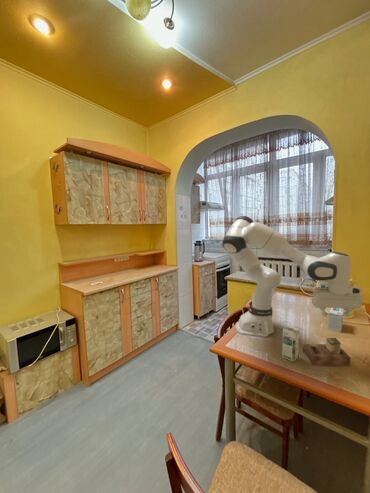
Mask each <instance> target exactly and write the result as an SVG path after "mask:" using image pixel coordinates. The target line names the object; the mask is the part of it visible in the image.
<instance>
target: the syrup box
mask: <svg viewBox="0 0 370 493" xmlns="http://www.w3.org/2000/svg"><path fill="white" fill-rule="evenodd" d="M299 340H300V328H296V327H294V326H293V327H292V326H289V325H286V326H285V327H283V329H282V348H281V349H282V351H281V358H283V359H287V360H289V361H291V362H292V363H295V362H296V360H297V359H298V357H299V346H300V345H299V342H300V341H299Z"/></svg>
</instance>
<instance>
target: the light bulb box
mask: <svg viewBox="0 0 370 493" xmlns="http://www.w3.org/2000/svg"><path fill="white" fill-rule="evenodd" d="M329 309H330V310H329V312H328V320H327V322H328V323H327V329H328V330H330V331H335V332H338V333H342V329H343V323H344V316H343V314H344V313H343V312H345V311H344V310H345V308H329Z"/></svg>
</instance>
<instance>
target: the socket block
mask: <svg viewBox="0 0 370 493" xmlns="http://www.w3.org/2000/svg"><path fill="white" fill-rule="evenodd" d="M302 352H303V354H305V356H306V357H307V359H308V361H309V362H310V363H311V365H320V366H323V365H324V366H351V356H350V355H348V353H347V352H345V351H344V349H342V348H341V347H340V354H330V353H329V352H328V351H327V350H326V343H325V344H324V343H303V344H302Z"/></svg>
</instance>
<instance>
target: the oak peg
mask: <svg viewBox="0 0 370 493" xmlns="http://www.w3.org/2000/svg"><path fill="white" fill-rule="evenodd" d="M325 344H326V350H327V351H328V352H329V353H330V354H340V348H341V344H342V343H341V341H339V340H338V339H337V337H326V343H325Z"/></svg>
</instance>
